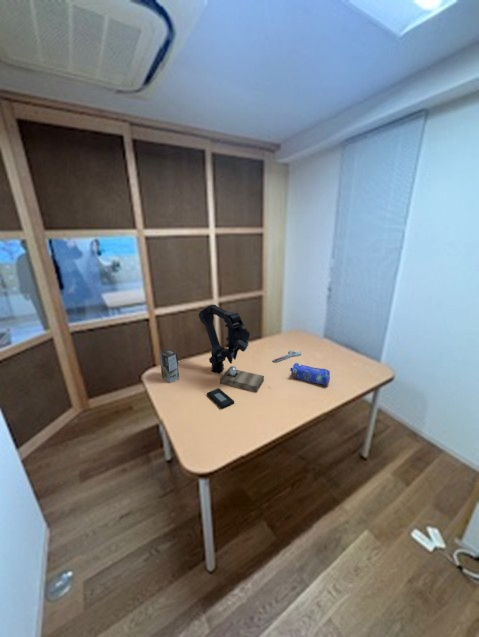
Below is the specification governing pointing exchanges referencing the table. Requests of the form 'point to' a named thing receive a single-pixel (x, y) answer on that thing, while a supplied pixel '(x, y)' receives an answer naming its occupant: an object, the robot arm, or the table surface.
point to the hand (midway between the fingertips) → (232, 361)
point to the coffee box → (169, 365)
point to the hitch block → (243, 380)
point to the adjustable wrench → (287, 356)
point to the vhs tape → (220, 398)
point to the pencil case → (310, 374)
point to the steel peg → (233, 371)
